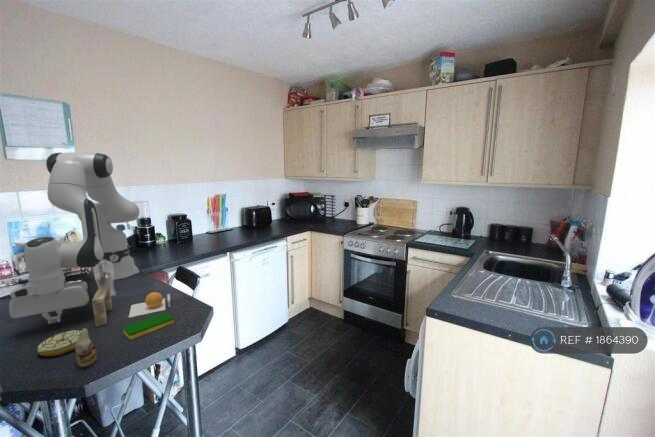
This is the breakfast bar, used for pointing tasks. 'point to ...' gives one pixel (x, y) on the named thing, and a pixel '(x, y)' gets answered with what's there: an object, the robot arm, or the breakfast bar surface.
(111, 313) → the breakfast bar surface
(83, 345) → the chocolate bunny
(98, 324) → the bridge
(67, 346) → the decorated donut
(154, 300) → the ball
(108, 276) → the beer glass
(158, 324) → the dish sponge
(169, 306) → the stopper
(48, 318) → the robot arm
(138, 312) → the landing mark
